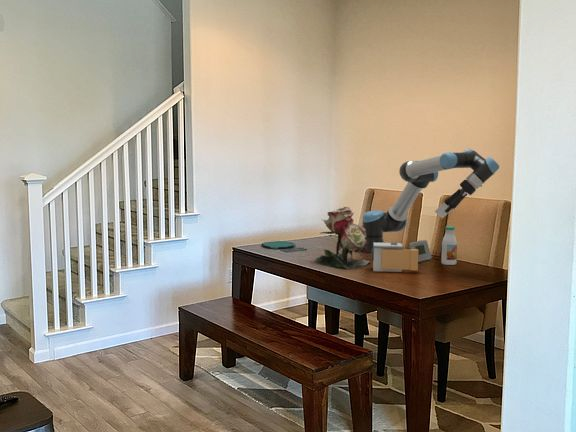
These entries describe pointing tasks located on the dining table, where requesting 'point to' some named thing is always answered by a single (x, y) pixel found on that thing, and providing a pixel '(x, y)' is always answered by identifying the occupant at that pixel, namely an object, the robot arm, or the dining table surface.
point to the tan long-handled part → (400, 259)
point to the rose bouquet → (344, 240)
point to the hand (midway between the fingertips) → (438, 215)
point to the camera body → (377, 255)
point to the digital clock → (421, 250)
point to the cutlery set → (282, 246)
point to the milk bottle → (449, 247)
